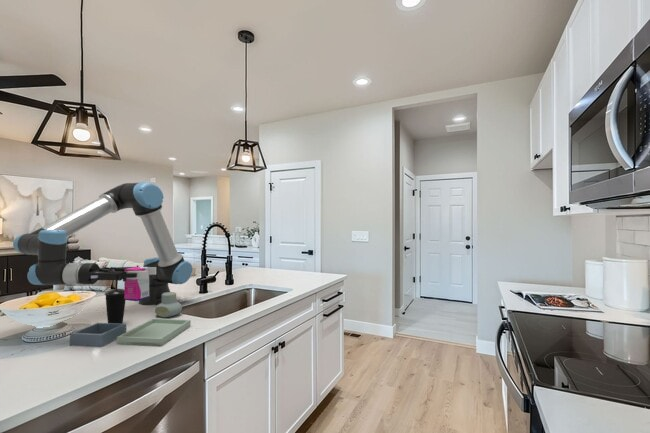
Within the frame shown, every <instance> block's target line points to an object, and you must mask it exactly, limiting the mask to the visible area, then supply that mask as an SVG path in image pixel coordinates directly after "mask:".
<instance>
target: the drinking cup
mask: <svg viewBox="0 0 650 433" xmlns="http://www.w3.org/2000/svg"><path fill="white" fill-rule="evenodd" d="M118 281H119V280H115V281H114V282H115V286H114V287H115V288H113V289H110V290H107V291H106V292H104V296H105V304H106V305H105V306H106V307H105V308H106V317H107V323H120V324H124V323H123V322H124V315H125V307H126V301H127V300H124V289H123V288H118Z"/></svg>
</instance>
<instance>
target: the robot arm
mask: <svg viewBox="0 0 650 433" xmlns="http://www.w3.org/2000/svg"><path fill="white" fill-rule="evenodd" d="M163 199H164V193H163V191H162V189H161V188H160V187H159V186H158V185H157V184H155V183H152V182H146V181H141V182H127V183H122V184H119V185H117V186H115V187H113V188H111V189H109V190H107V191H104V192H103V193H100V195H99V196H98V198H97V199H95V200H93V201H91V202H89V203H87V204H84V205H83V206H81V207H79V208H77V209H75V210H73V211H71V212H69V213H67V214H66V215H64V216H62V217H60V218H57V219H56V220H54V221H52V222H50V223H47V224H46V225H44V226H42V227H41V228H38V229H36V230H34V231H32V232H30V233H22V234H19V235H18V236H16V238H14V240H13V243H12V247H13V249H14V250H15V251H16V252H17V253H20V254H24V255H27V256H31V255H32V256H37V263H35V264H33V265H31V266H30V267H29V269H28V272H27V281H28V283H30V284H32V285H35V286H61V285H63V286H64V285H65V286H66V285H67V286H68V285H69V286H70V285H71V286H72V287H75V286H76V285H94V284H96V283H97V282H98V281H116V280H118V281H122V282H124V281H126V278H127V279H148V271H127V272H124V269H128V268H133V267H134V266H120V267H118V266H110V267H108V266H107V267H106V266H104V267H102V268H100V265H99V264H97V263H96V262H85V263H84V262H69V263H67V253H68V251H67V248H68V247H67V246H68V239H67V238H68V237H69V236H71V235H73V234H75V233H77V232H78V231H80V230H82V229H84V228H86V227H88V226H89V225H91V224H93V223H95V222H97V221H98V220H100V219H102V218H103V217H105V216H107V215H109V214H115V213H117V212H119V211H121V210H124V209H132V211H133V213H134V215H135V216H137V217H139V218H140V219H141V222H142V223H143V226H144V228H145V230H146V233H147V235H148V236H149V239H150V241H151V243H152V245H153V248H154V250H155V253H156V254H157V257H152V258H150V257H149V258H145V260H143V266H142V267H149V298H146V299H142V300H139V301H138V304H140V305H144V306H145V305H146V306H147V305H151V306H152V305H159V304H160V303H161V301H162V294H163V293H166V292H171V290H170V287H169V284H173V285H183V284H185V283H187V282H188V281H189V280H190V279H191V277H192V274H193V265H192V263H190V262H189V261H188V260H187V261H186V260H185V259H184V256H183V254H182V253H179V252H178V250H177V247H176V245H175V243H174V240H173V238H172V236H171V234H170V231H169V229H168V227H167V224H166V221H165V219H164V217H163V214H162V212H161V211H162V209H163V202H164V200H163ZM136 267H140V265H136Z"/></svg>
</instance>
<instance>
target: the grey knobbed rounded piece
mask: <svg viewBox="0 0 650 433" xmlns="http://www.w3.org/2000/svg"><path fill="white" fill-rule="evenodd" d="M155 306H156V307H155V308H154V313H155V314H156V315H157V316H159V317H161V318H162V319H167V318H172V317H174V316H176V315H178V314H180V312H181V311H182V309H183V305H182V304H181V303H180V302H178V301H177V292H175V291H170V292H166V293H163V294H162V301H161V303H160V304H156V305H155Z"/></svg>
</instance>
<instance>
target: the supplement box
mask: <svg viewBox="0 0 650 433" xmlns="http://www.w3.org/2000/svg"><path fill="white" fill-rule="evenodd" d="M132 267H133V268H128V269H124V272H127V271H148V279H127V278H126V281H123V282H124V285H123V286H124V289H123V290H124V300H126V301H129V302H139V300H142V299H146V298H149V267H143V266H139V267H137V266H132Z"/></svg>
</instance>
